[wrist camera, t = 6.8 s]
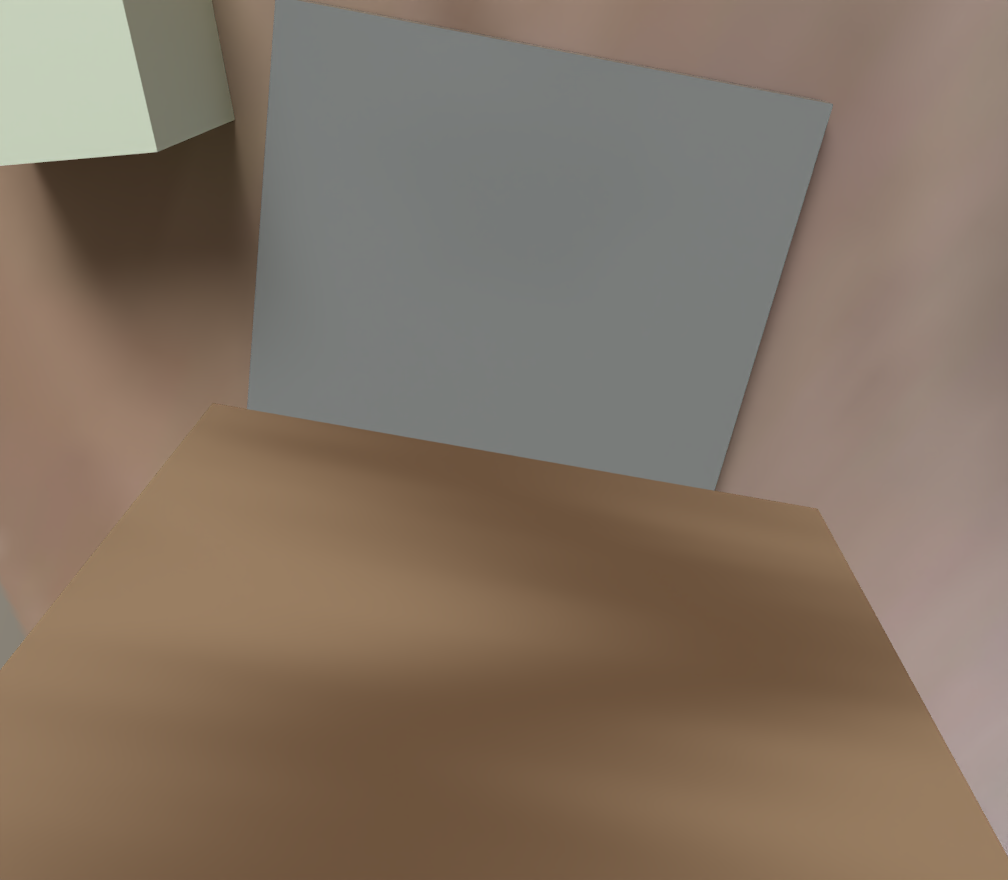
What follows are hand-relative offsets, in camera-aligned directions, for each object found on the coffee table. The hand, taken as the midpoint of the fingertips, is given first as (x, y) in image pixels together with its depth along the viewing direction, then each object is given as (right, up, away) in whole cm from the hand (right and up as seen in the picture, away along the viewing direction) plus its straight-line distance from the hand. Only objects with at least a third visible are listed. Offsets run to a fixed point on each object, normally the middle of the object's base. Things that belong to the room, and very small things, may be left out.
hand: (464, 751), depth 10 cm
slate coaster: (+1, +6, +14) cm, 15 cm away
